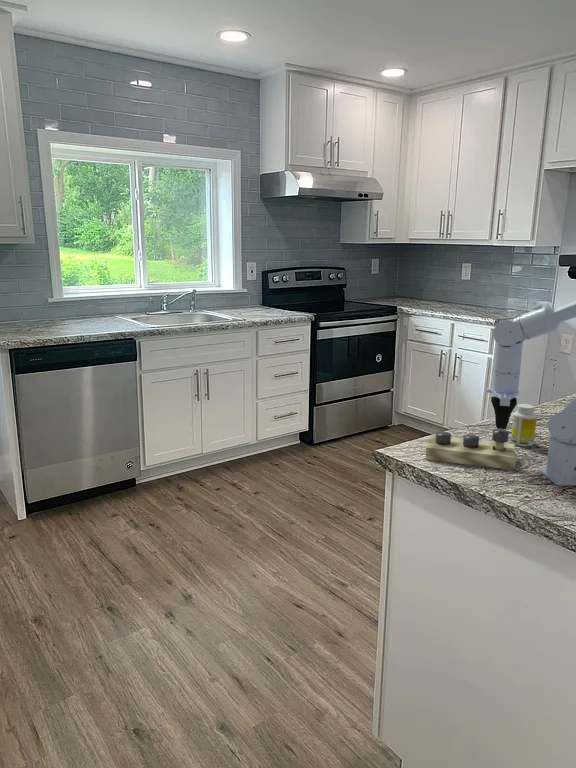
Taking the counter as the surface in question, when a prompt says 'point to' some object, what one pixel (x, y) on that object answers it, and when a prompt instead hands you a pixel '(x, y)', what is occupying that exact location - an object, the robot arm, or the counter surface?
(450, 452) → the knob mount
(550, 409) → the counter surface
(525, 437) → the supplement bottle
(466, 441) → the knob middle
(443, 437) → the knob far
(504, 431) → the knob near
